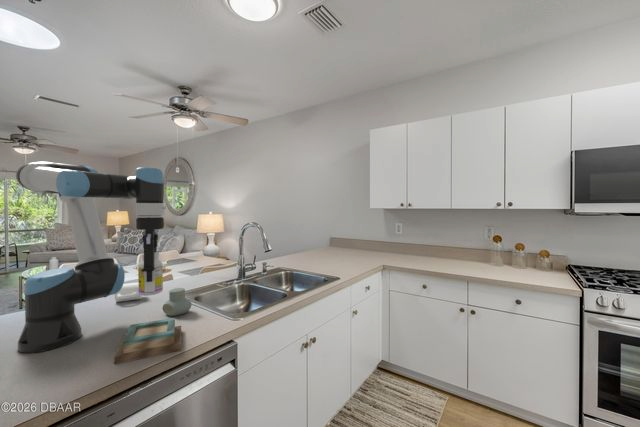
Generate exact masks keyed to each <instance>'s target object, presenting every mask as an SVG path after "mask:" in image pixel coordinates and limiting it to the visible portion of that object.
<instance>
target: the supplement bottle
mask: <svg viewBox="0 0 640 427" xmlns="http://www.w3.org/2000/svg"><path fill="white" fill-rule="evenodd" d="M141 258H142V261H140V262H139V263H138V266H137V267H138V268H137V269H138V271H137V272H138V283H139V294H140V295H142V297H143V296H147V297H148V296H155V295H158V294H160V293H162V292H163V290H164V281H163V280H164V279H163V278H164V277H163V274H164V273H163V261H162V260H161V259H159V258H160V252H158V251H157V252H154V268H155V269H154V270H155V291H154V292H145V284H144V272H142V269H143V268H144V252H143V253H142V254H141Z"/></svg>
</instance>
